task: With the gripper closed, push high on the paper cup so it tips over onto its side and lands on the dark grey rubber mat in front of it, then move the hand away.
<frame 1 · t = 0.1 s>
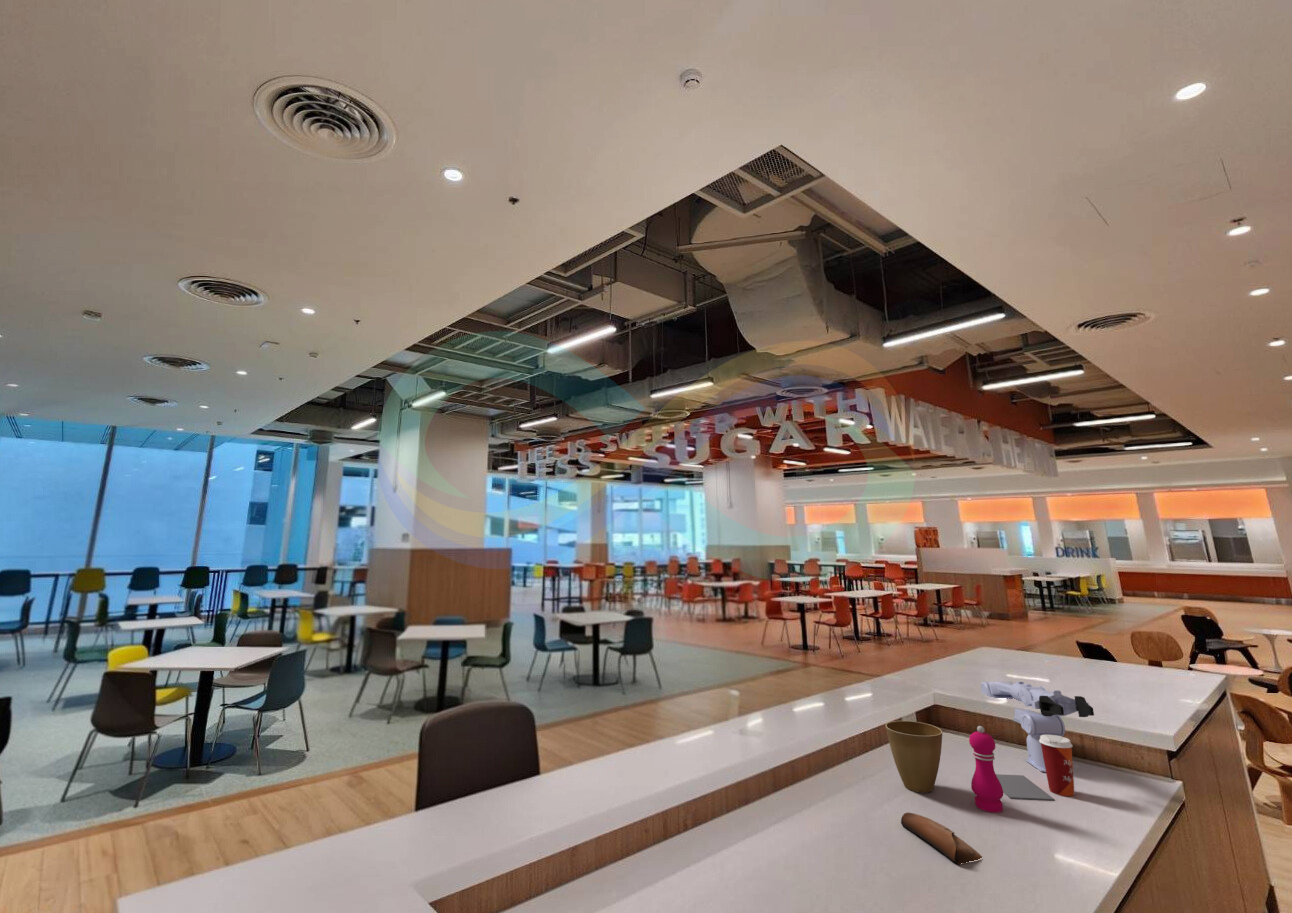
hand: (1077, 711, 156), 22 cm above the countertop, tool horizontal, fingers open, 7 cm apart
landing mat: (1017, 787, 157), on the countertop
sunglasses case: (941, 845, 129), on the countertop
paper cup: (1061, 792, 154), on the countertop
pepper mill: (989, 808, 146), on the countertop
plant pot: (918, 788, 158), on the countertop
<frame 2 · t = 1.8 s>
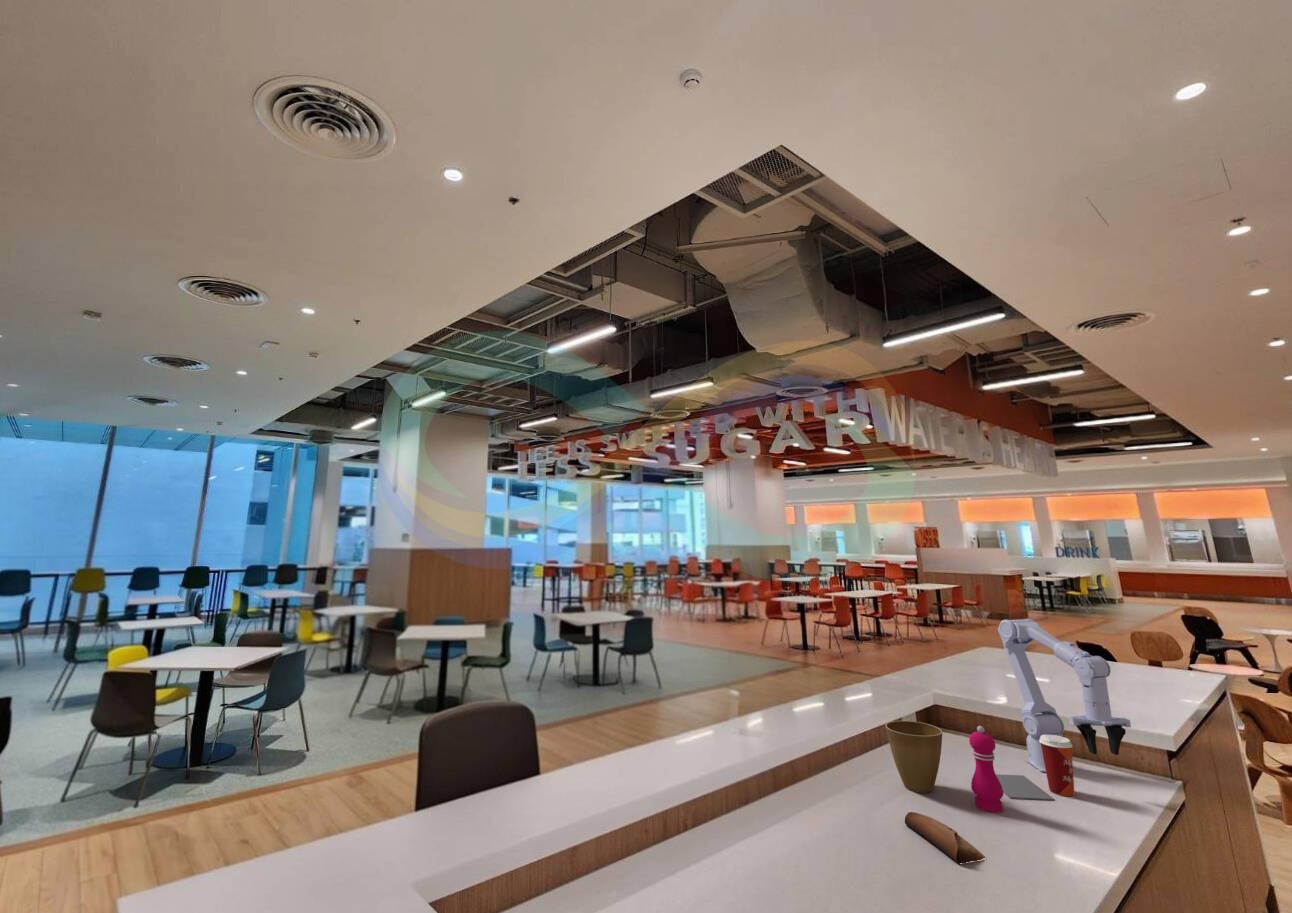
hand: (1103, 753, 154), 10 cm above the countertop, tool pointing down, fingers open, 5 cm apart
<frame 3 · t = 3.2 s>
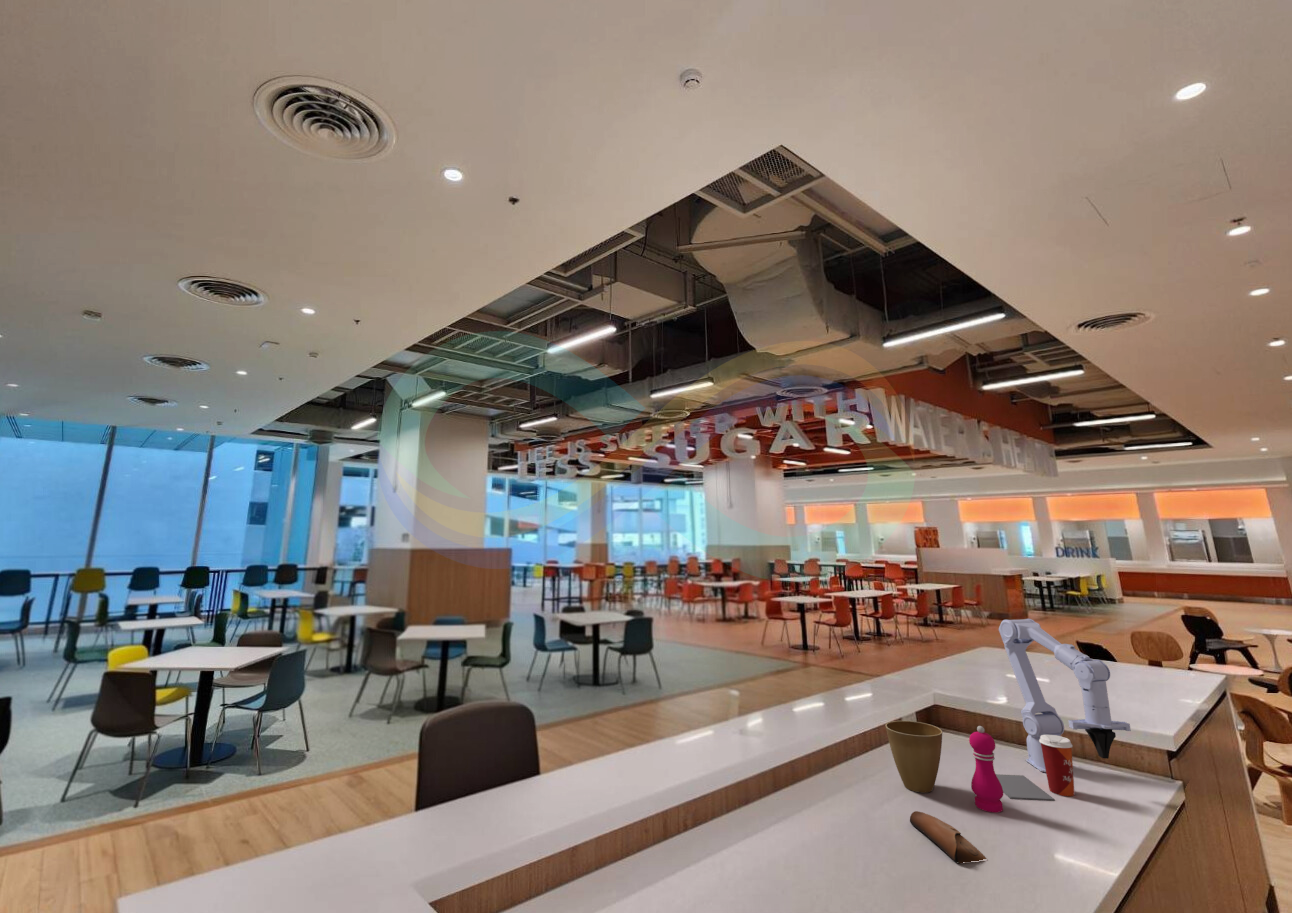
hand: (1103, 757, 154), 9 cm above the countertop, tool pointing down, fingers closed
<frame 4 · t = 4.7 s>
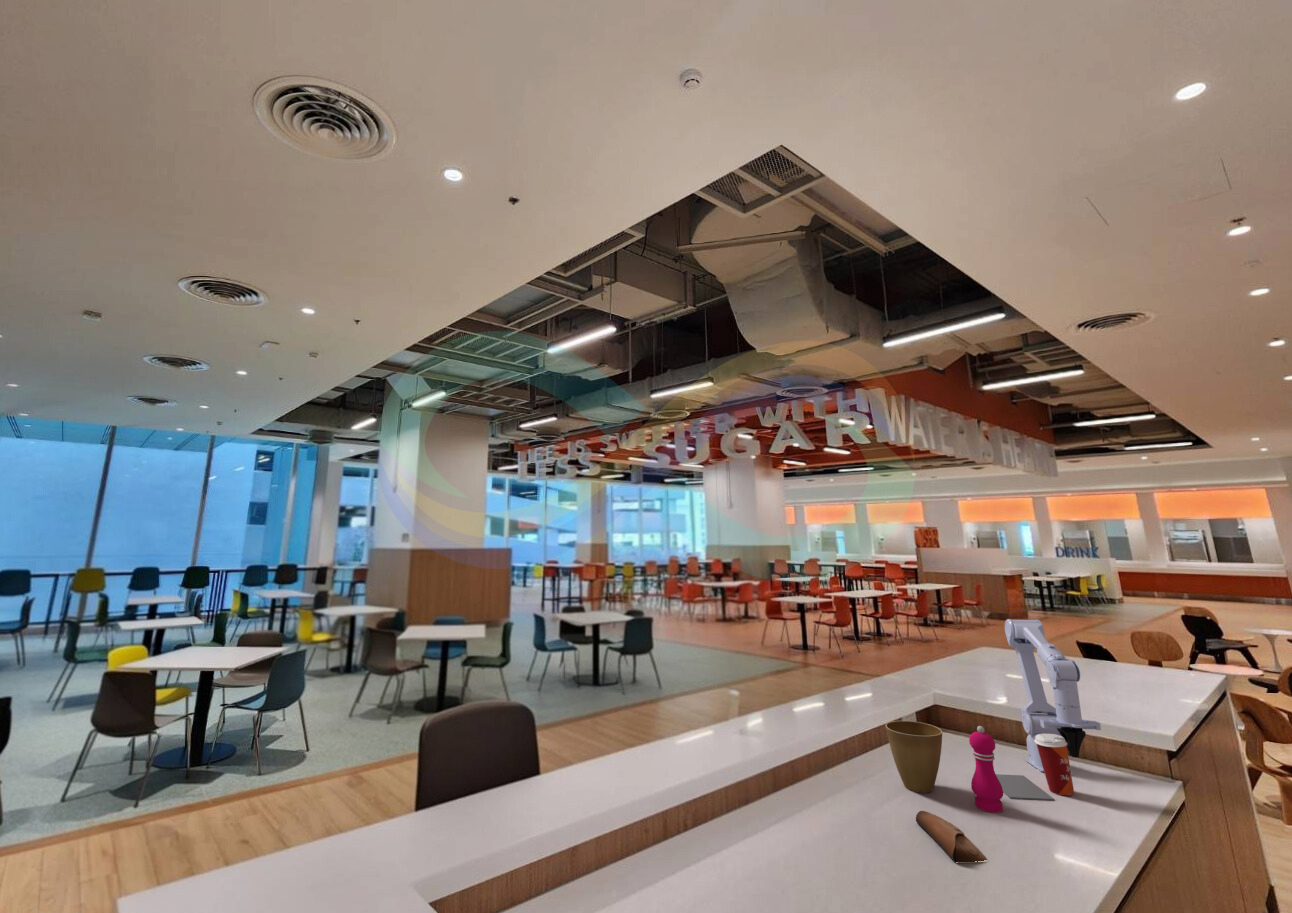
hand: (1074, 756, 155), 9 cm above the countertop, tool pointing down, fingers closed
paper cup: (1061, 791, 154), on the countertop, touching gripper
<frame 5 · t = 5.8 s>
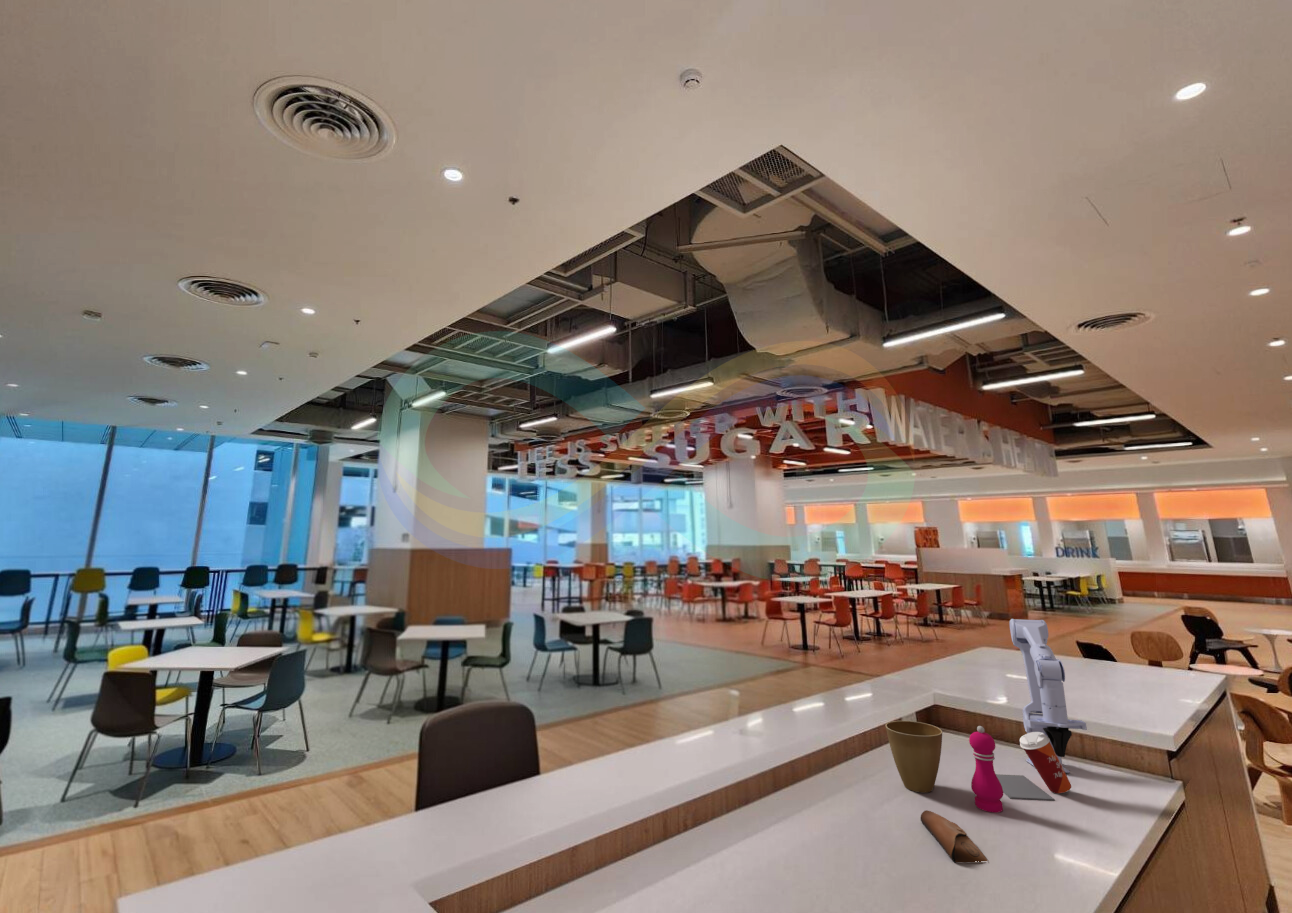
hand: (1060, 755, 155), 9 cm above the countertop, tool pointing down, fingers closed
paper cup: (1060, 788, 154), point 1 cm above the countertop
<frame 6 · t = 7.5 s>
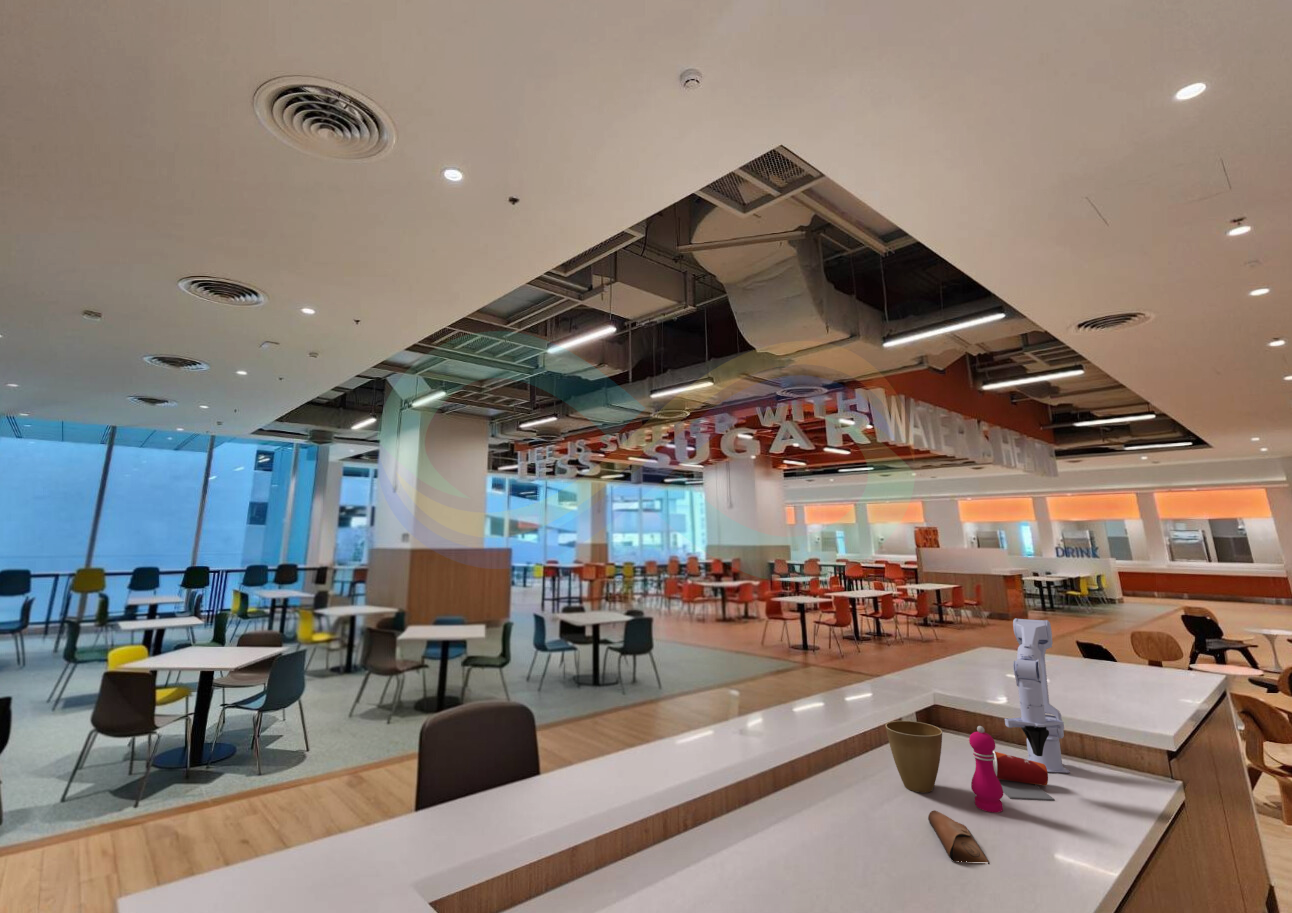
hand: (1037, 754, 156), 9 cm above the countertop, tool pointing down, fingers closed
paper cup: (1045, 775, 158), point 3 cm above the countertop, touching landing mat
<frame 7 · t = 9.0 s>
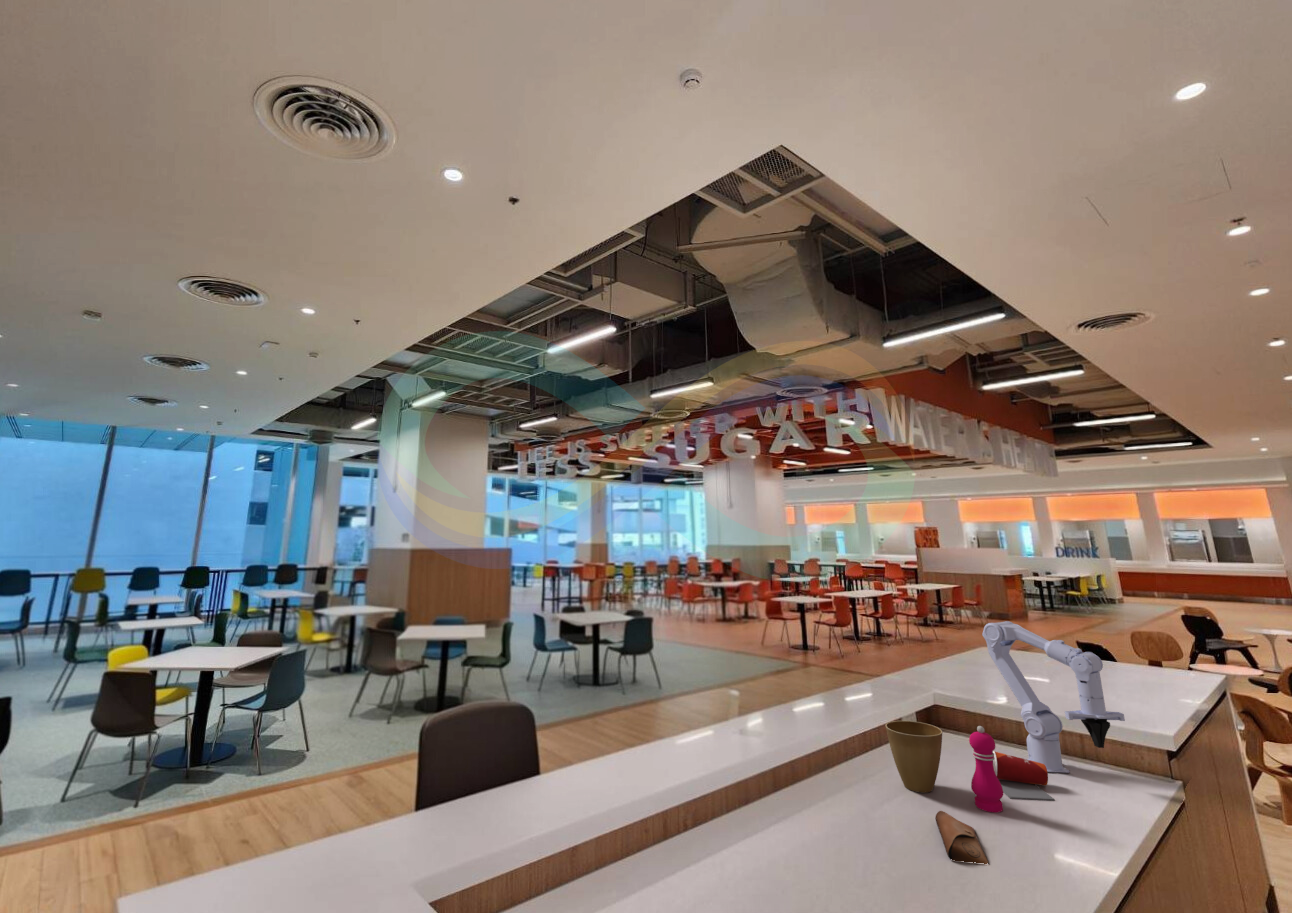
hand: (1099, 746, 159), 10 cm above the countertop, tool pointing down, fingers closed
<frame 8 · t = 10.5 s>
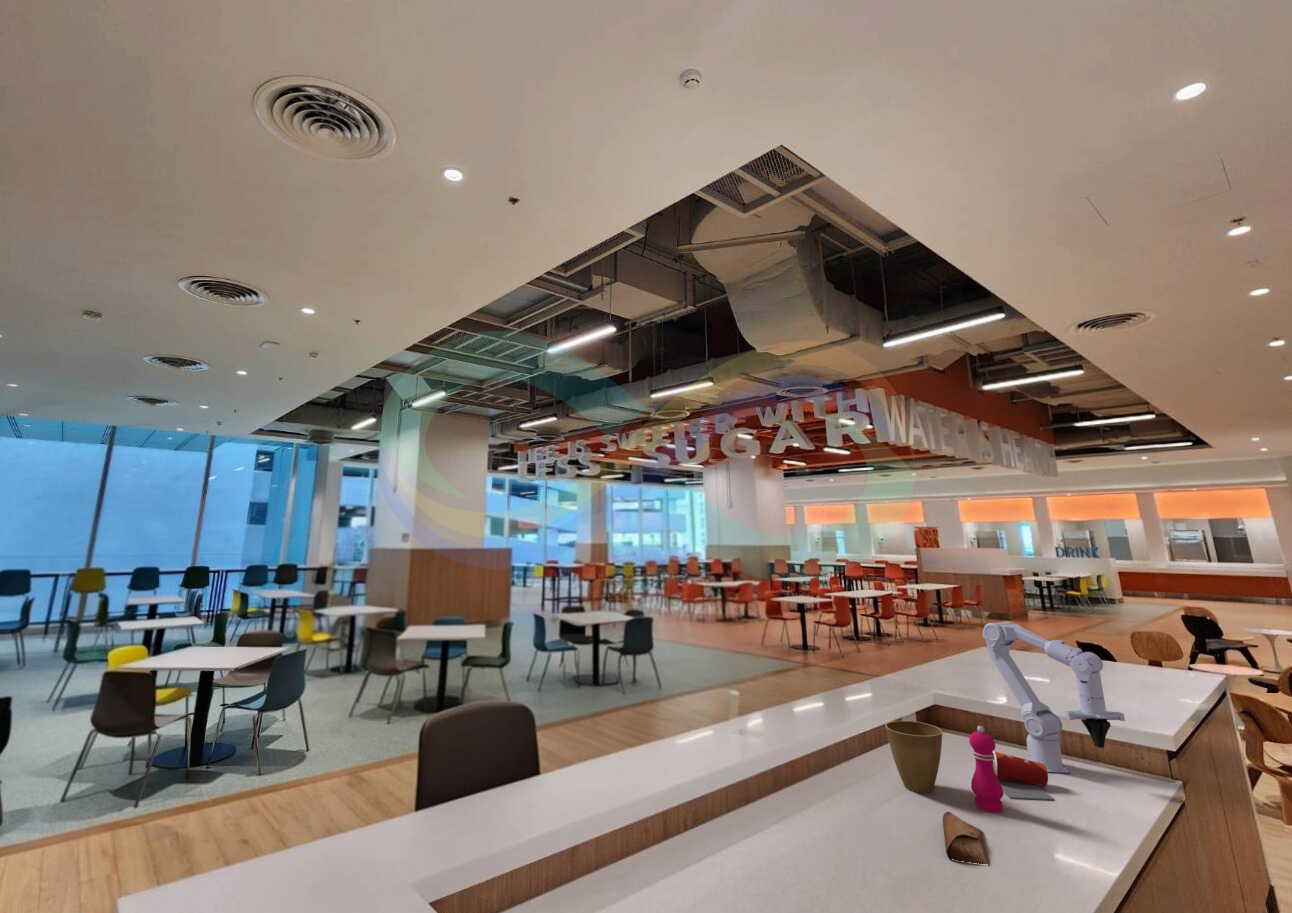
hand: (1099, 746, 159), 10 cm above the countertop, tool pointing down, fingers closed
at the end: paper cup tilted 83°; paper cup touching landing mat; paper cup inside the target area (4.5 cm from its centre), point 3.0 cm above the countertop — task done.
